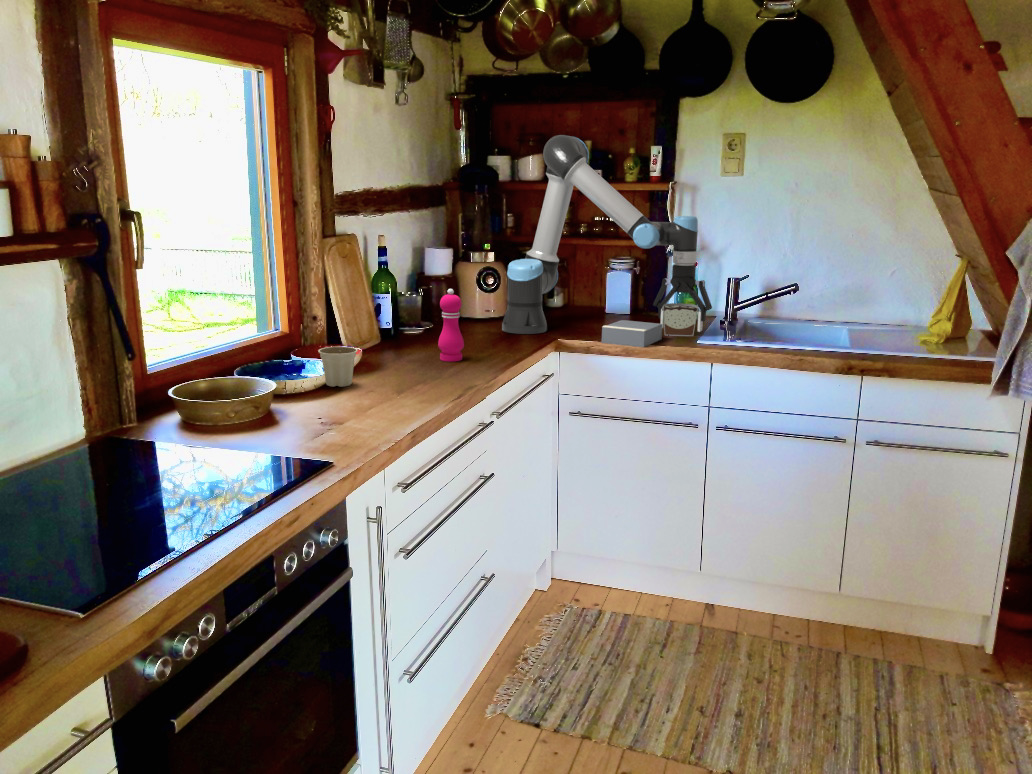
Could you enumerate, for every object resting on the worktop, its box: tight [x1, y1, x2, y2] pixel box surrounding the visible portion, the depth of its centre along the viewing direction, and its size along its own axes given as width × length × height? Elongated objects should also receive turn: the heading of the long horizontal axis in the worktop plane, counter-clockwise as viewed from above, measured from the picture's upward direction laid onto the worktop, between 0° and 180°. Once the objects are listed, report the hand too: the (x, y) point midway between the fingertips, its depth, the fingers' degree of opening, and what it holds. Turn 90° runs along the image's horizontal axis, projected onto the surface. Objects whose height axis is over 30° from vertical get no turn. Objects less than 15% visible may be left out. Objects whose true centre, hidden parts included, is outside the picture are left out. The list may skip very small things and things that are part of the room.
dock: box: [601, 319, 663, 348], centre depth 264 cm, size 14×16×5 cm
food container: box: [662, 302, 700, 337], centre depth 276 cm, size 12×6×10 cm, turn 85°
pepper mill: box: [437, 288, 465, 363], centre depth 232 cm, size 7×7×20 cm
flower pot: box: [317, 346, 358, 388], centre depth 204 cm, size 9×9×9 cm
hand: (681, 329), depth 277 cm, fingers open, 12 cm apart
